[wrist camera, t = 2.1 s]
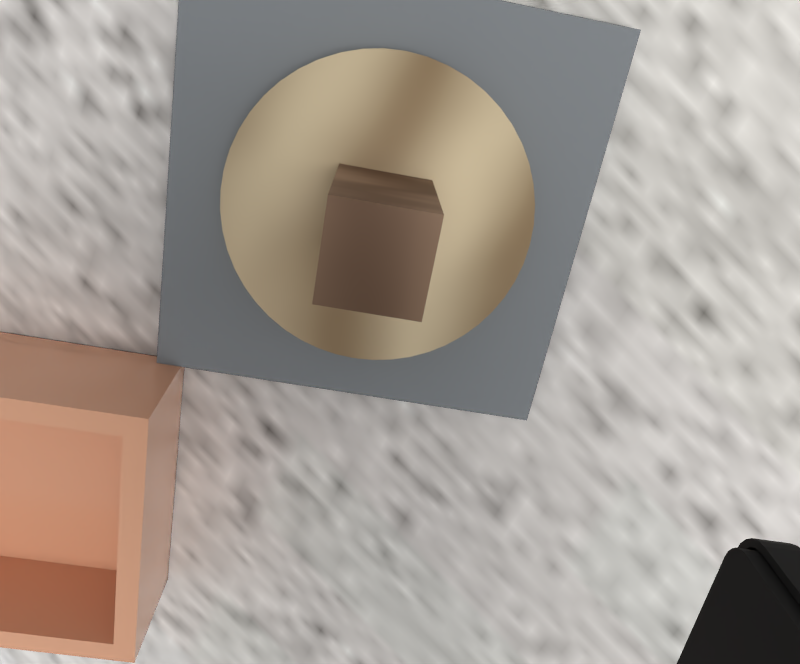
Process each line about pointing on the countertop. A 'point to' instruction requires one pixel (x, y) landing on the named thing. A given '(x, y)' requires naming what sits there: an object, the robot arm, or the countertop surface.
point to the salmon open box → (84, 495)
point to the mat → (442, 41)
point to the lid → (377, 204)
